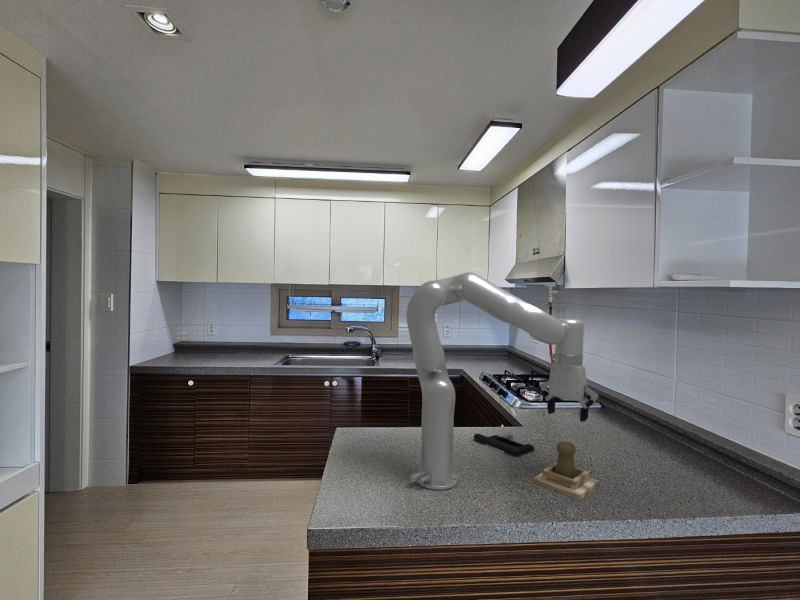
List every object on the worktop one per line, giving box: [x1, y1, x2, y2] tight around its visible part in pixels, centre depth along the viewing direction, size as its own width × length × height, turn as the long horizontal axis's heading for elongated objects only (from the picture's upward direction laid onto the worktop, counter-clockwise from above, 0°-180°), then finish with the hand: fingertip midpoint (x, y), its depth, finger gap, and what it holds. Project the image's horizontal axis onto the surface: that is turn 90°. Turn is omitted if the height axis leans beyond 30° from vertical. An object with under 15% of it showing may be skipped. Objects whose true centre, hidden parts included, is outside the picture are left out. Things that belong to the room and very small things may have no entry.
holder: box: [532, 461, 600, 501], centre depth 122 cm, size 14×14×4 cm
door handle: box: [473, 432, 535, 458], centre depth 152 cm, size 3×20×16 cm
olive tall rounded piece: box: [555, 441, 577, 479], centre depth 122 cm, size 6×6×11 cm
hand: (566, 416), depth 121 cm, fingers open, 9 cm apart
